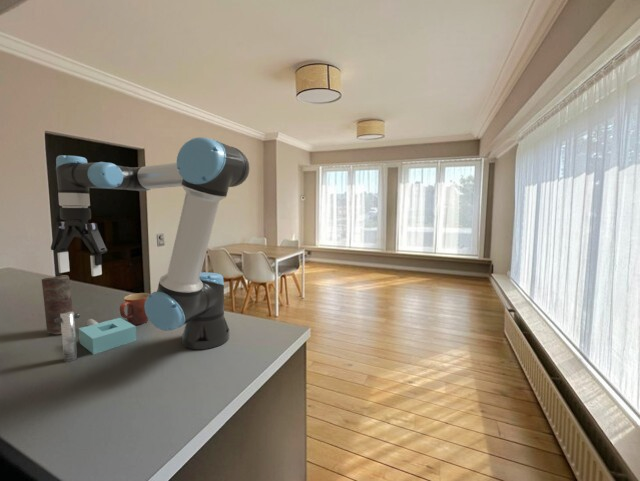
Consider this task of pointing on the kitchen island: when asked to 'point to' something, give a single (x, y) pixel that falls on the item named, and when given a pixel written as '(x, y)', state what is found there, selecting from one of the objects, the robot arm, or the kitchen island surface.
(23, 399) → the kitchen island surface
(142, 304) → the mug
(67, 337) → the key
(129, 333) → the chuck block
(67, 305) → the brown mottled cylinder
